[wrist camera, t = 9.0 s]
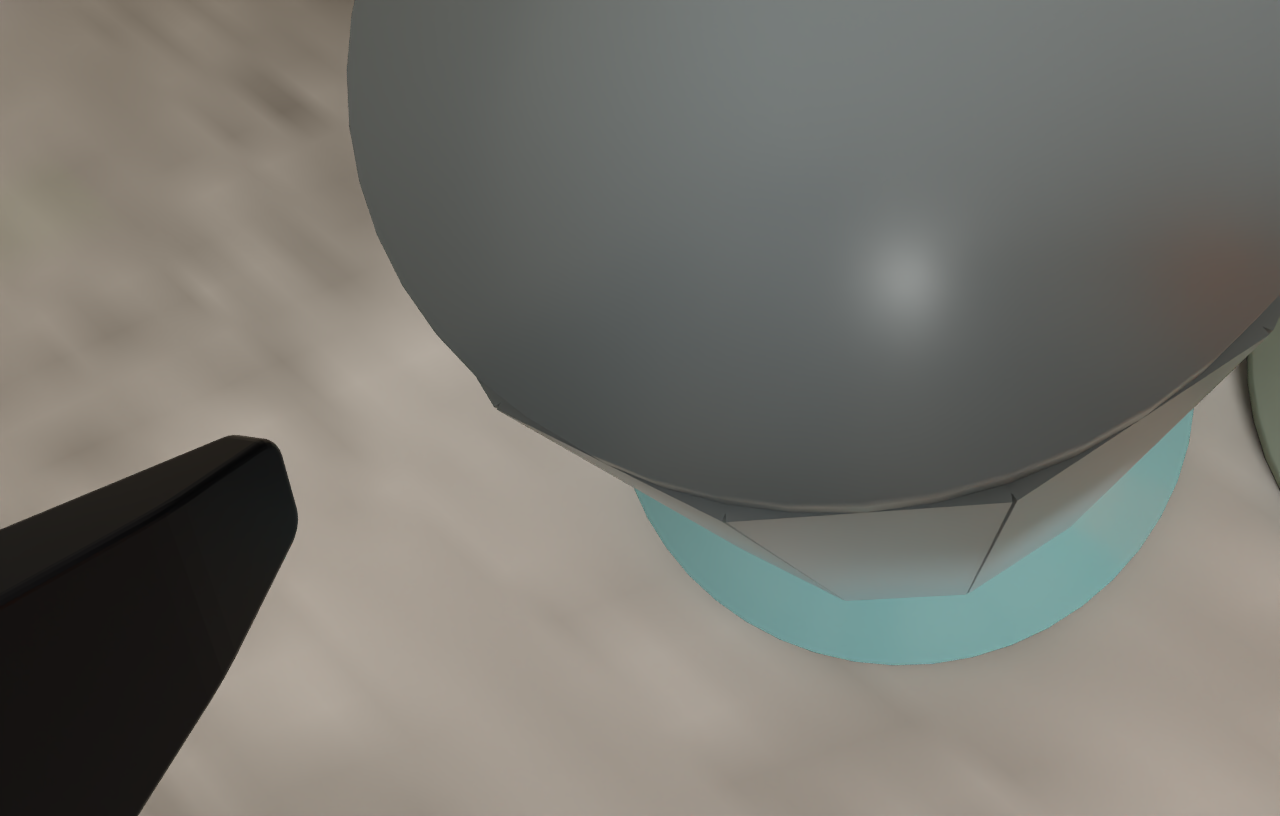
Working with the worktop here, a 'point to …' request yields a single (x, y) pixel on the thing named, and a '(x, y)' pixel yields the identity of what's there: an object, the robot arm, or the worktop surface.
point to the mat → (1267, 396)
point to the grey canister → (835, 249)
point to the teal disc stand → (938, 623)
